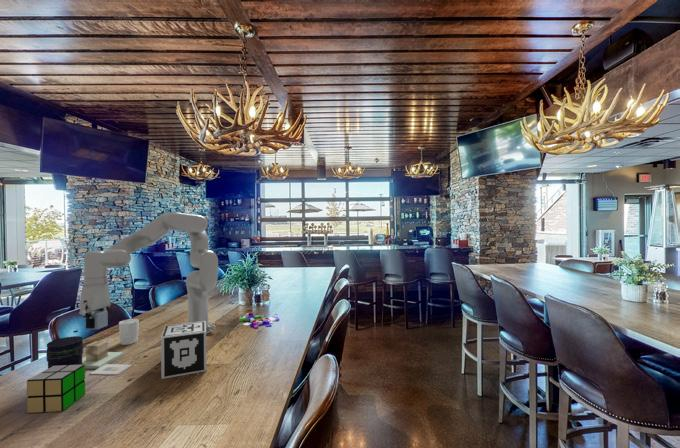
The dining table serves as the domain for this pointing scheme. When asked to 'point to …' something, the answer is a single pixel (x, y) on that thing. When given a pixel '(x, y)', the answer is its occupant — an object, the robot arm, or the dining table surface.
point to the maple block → (96, 350)
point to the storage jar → (65, 351)
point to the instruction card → (111, 369)
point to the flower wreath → (258, 320)
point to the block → (183, 349)
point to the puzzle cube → (55, 388)
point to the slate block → (100, 319)
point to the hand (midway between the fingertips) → (96, 325)
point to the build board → (102, 360)
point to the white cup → (129, 331)
